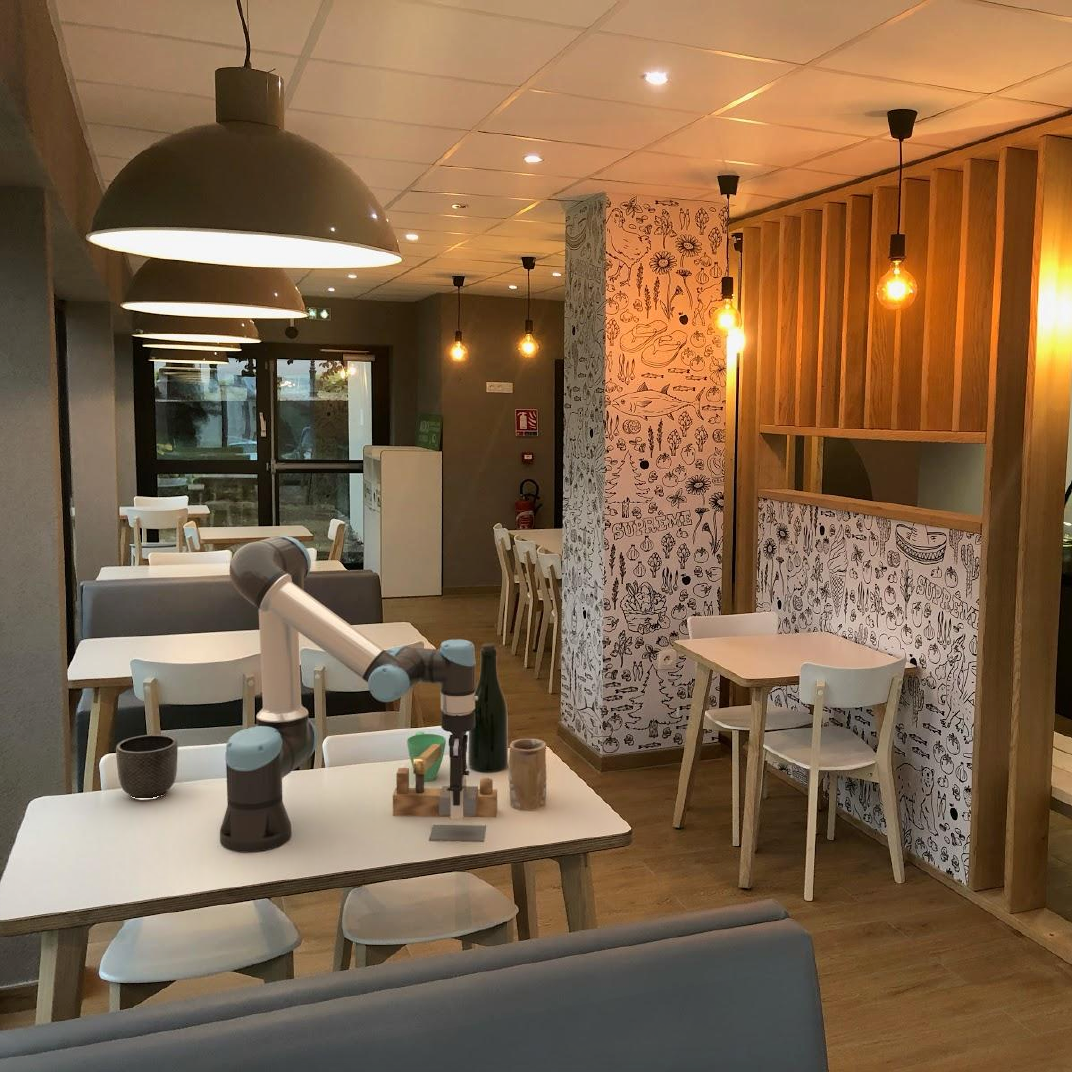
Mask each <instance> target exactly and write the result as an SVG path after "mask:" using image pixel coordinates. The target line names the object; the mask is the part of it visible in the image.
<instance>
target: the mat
mask: <svg viewBox="0 0 1072 1072" xmlns="http://www.w3.org/2000/svg"><path fill="white" fill-rule="evenodd" d="M486 829H487V825H484V824H483V825H482V824H477V825H476V824H473V825H472V824H432V828H431V831H430V834H429V838H428V841H429V842H467V843H468V842H474V843H475V842H476V843H484V842H485V835H486Z"/></svg>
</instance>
